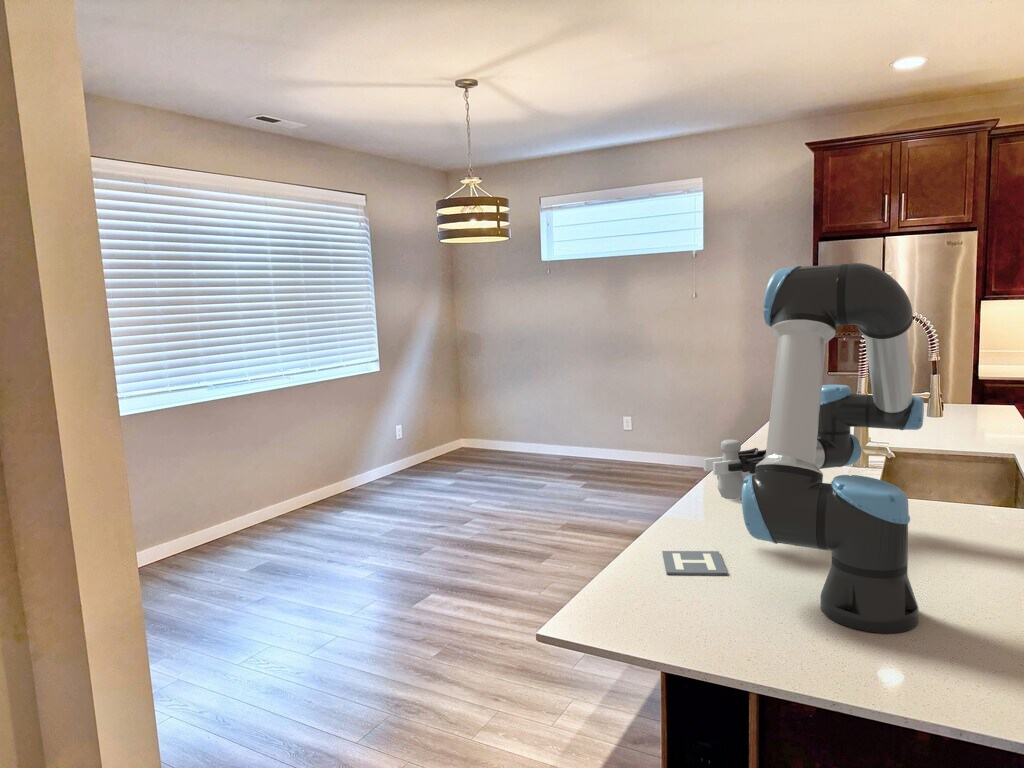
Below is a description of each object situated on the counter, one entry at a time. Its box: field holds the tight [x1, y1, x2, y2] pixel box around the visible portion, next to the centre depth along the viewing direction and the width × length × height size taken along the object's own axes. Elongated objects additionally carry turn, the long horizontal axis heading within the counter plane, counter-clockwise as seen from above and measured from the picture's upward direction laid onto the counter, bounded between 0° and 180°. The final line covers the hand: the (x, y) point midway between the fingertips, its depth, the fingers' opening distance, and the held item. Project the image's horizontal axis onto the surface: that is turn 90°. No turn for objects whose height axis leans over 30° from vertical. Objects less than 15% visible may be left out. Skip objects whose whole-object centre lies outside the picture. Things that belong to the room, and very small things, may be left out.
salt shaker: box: [716, 439, 744, 500], centre depth 156 cm, size 6×6×13 cm
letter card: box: [661, 550, 729, 576], centre depth 146 cm, size 12×12×1 cm
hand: (709, 466), depth 155 cm, fingers closed on salt shaker, 3 cm apart
